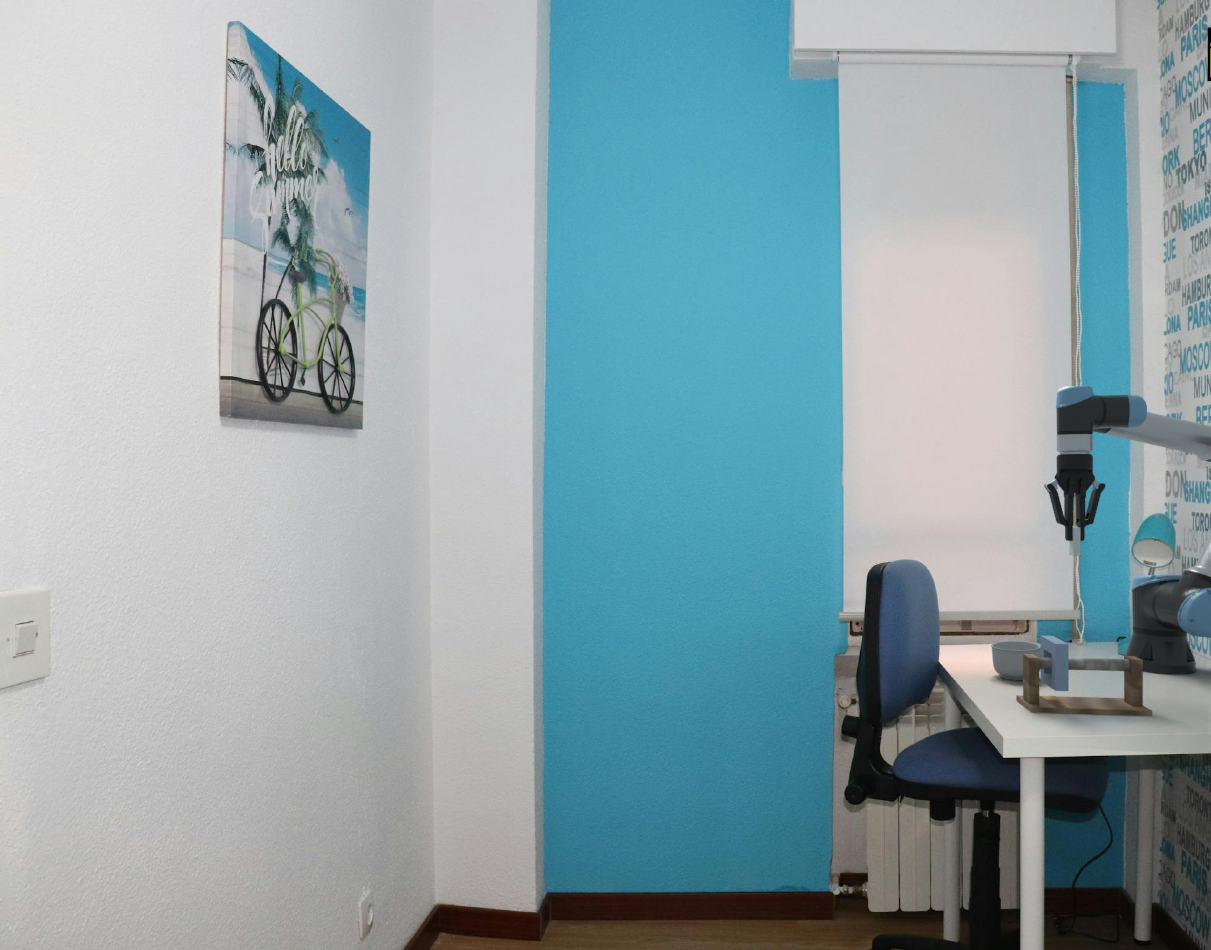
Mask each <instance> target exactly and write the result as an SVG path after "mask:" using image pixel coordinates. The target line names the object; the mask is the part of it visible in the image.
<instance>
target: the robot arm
mask: <svg viewBox="0 0 1211 950" xmlns="http://www.w3.org/2000/svg"><path fill="white" fill-rule="evenodd" d="M1055 401H1056V404H1055V410H1056V452H1057V453H1059V454H1057V456H1056V473H1055V475H1054V479H1053V480H1052V481H1050V482H1048V483H1045V484H1044V485H1043V486H1044V488H1045V490H1046V492H1047V493H1048V495H1049V499H1050V502H1051V506H1052V511H1053V515H1054V519H1055V521H1056V523H1057V524H1058V525H1061V526H1063V527H1064V539H1065V541H1066V542H1067V541H1069V542H1068V543H1069V545H1068V546H1069V547H1068V548H1069V550H1068V551H1069V553H1068V555H1070V556H1073V557H1076V556H1077V557H1079V556H1081V542H1084V541H1085V536H1086V535H1085V533H1086V532H1085V528H1086V527H1087V526H1089V525H1093V524H1094V522H1095V517H1096V515H1097V510H1098V507H1099V503H1100V499H1101V494H1102V493H1103V491H1104V490H1105V488H1106V487H1107V486H1106V484H1105V483H1104V482H1103V483H1102V482H1100V481H1099V480H1097V479H1096V476H1095V474H1094V455H1092V454H1091V453H1092V452H1093V451H1094V435H1093V434H1094V433H1098V434H1104V435H1106V436H1107V435H1108V436H1111V437H1112V436H1113V437H1118V438H1121V439H1126V440H1131V441H1135V442H1139V443H1144V444H1148V445H1152V446H1157V447H1161V448H1165V449H1170V450H1174V451H1178V452H1179V451H1180V452H1184V453H1188V454H1192V455H1195V456H1196V458H1197V459H1198V460H1201V461H1205V462H1209V463H1211V422H1208V423H1206V424H1204V423H1199V422H1194V421H1190V420H1185V419H1182V418H1177V417H1171V416H1167V415H1162V414H1159V413H1155V412H1154V413H1153V412H1150V411H1148V405H1147V403H1146V400H1145V399H1144V398H1143V397H1142V396H1141V395H1137V394H1136V395H1135V394H1133V395H1132V394H1107V395H1105V394H1104V395H1099V394H1098V395H1097V394H1094V389H1093V387H1092V386H1090V385H1072V386H1071V385H1070V386H1062V387H1060V388H1058V390H1057V392H1056V400H1055ZM1090 487H1091V493H1090V497H1089V501H1088V504H1087V509H1086V498H1087V491H1088V490H1089V489H1090ZM1058 488H1060V489H1061V490H1062V492H1063V498H1064V501H1063V502H1064V504H1063V505H1064V507H1062V503H1061V500H1060V496H1059V493H1058ZM1074 498H1075V499H1074ZM1074 500H1075V506H1074ZM1074 507H1075V508H1074ZM1063 509H1064V510H1063ZM1074 509H1075V510H1074ZM1074 511H1075V515H1074ZM1074 517H1075V524H1074ZM1074 525H1076V526H1074ZM1131 586H1132V588H1131V594H1132V595H1131V596H1132V597H1131V598H1132V599H1131V600H1132V602H1131V603H1132V607H1131V608H1132V635H1131V638H1130V641H1129V644H1128V646H1127V648H1126V651H1125V654H1124V656H1135V657H1137V658H1139V659H1141V660H1143V672H1150V673H1160V674H1177V675H1179V674H1191V673H1195V672H1196V670H1197V668H1196V666H1197V665H1196V663H1197V662H1196V660H1195V656H1194V654H1193V651H1192V647H1191V645H1190V643H1189V639H1188V635H1190V636H1193V637H1199V638H1206V639H1208V638H1209V639H1211V534H1209V538H1208V539H1207V541H1206V543H1205V546H1204V548H1203V550H1202V551H1201V553H1200V555H1199V557H1198V559H1197V562H1196V563H1195V565H1194V566H1191V567H1189V568H1185V569H1184V570H1183V573H1182V574H1146V575H1145V574H1144V575H1143V574H1142V575H1141V574H1140V575H1136V576H1135V577H1134V578H1133V579H1132V585H1131Z"/></svg>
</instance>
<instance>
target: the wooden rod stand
mask: <svg viewBox="0 0 1211 950" xmlns="http://www.w3.org/2000/svg"><path fill="white" fill-rule="evenodd" d="M1039 669H1040V670H1041V669H1050V670H1052V657H1050V658H1038V657H1037V656H1035V655H1033V654H1023V680H1022V695H1016V697H1015V700H1016V701H1017V702H1018V703H1019V704H1021V706H1023V707H1024V708H1025V709H1026V710H1028V711H1029V712H1030V713H1037V714H1038V713H1040V714H1041V713H1043V714H1044V713H1045V714H1073V715H1074V714H1075V715H1076V714H1077V715H1078V714H1079V715H1080V714H1081V715H1111V716H1112V715H1114V716H1115V715H1119V716H1149V717H1150V716H1151V717H1152V716H1153V710H1151V709H1150V708H1148V707H1146V706H1145V705H1144V671H1143V660H1141V659H1139V658H1137V657H1135V656H1125V655H1124V656H1123V658H1086V657H1084V658H1080V657H1078V658H1077V657H1075V658H1073V657H1068V671H1099V672H1100V671H1105V672H1106V671H1107V672H1123V697H1095V696H1094V697H1091V696H1090V697H1089V696H1088V697H1087V696H1085V697H1084V696H1056V695H1040V672H1039Z"/></svg>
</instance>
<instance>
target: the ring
mask: <svg viewBox="0 0 1211 950" xmlns="http://www.w3.org/2000/svg"><path fill="white" fill-rule="evenodd" d="M1039 645H1040V658H1050V657H1052V670H1050V669H1040V681H1041V682H1042V683H1043V684H1045V685H1046V686H1048V687H1049V688H1051V690H1054V691H1055V692H1069V691H1070V690H1069V687H1070V685H1069V683H1070V682H1069V670H1068V658H1069V643H1068V642H1065V641H1063V640H1061V639H1059V638H1058V637H1056V636H1054V635H1040V644H1039Z"/></svg>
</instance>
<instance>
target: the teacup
mask: <svg viewBox="0 0 1211 950" xmlns="http://www.w3.org/2000/svg"><path fill="white" fill-rule="evenodd" d="M990 646H991V655H992V656H991V657H992V664H993V665H992V666H993V668H994V670H995V672H996V673H997V674H999V675H1000V676H1001V678H1003V679H1006V680H1010V681H1023V654H1033V655H1035V656H1037V657H1038V658H1040V644H1039V643H1036V642H1032V641H1025V640H1005V639H1001V640H999V641H996V642H993V643H991V645H990ZM1039 673H1041V669H1039Z"/></svg>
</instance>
